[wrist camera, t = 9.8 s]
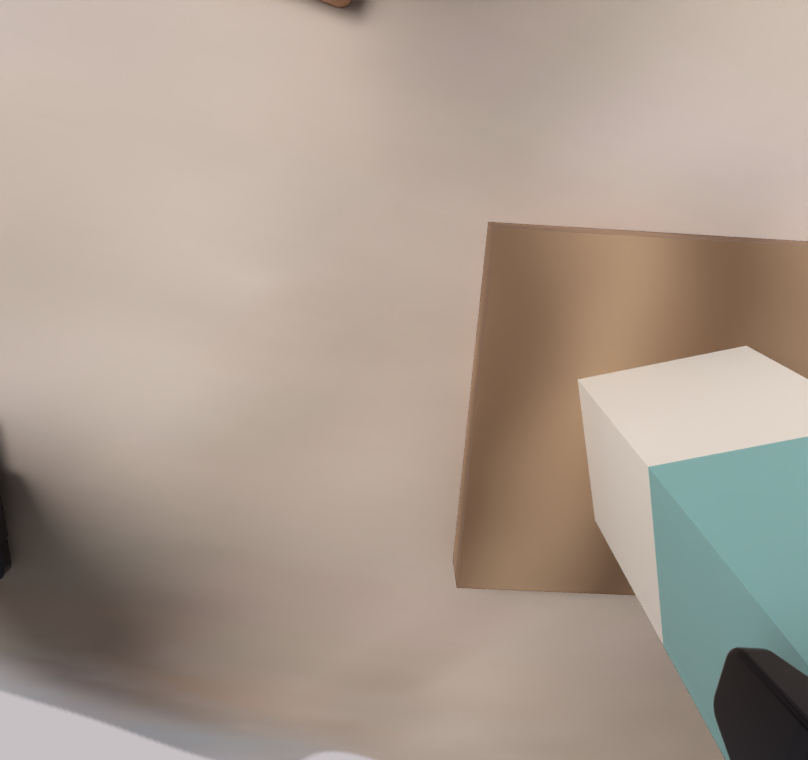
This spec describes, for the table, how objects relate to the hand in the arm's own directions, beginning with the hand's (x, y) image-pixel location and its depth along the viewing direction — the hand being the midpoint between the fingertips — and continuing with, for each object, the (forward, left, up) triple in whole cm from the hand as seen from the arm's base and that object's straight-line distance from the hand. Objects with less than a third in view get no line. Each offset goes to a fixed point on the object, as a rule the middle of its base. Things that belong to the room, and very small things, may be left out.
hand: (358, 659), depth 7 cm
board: (+9, -2, -13) cm, 16 cm away
